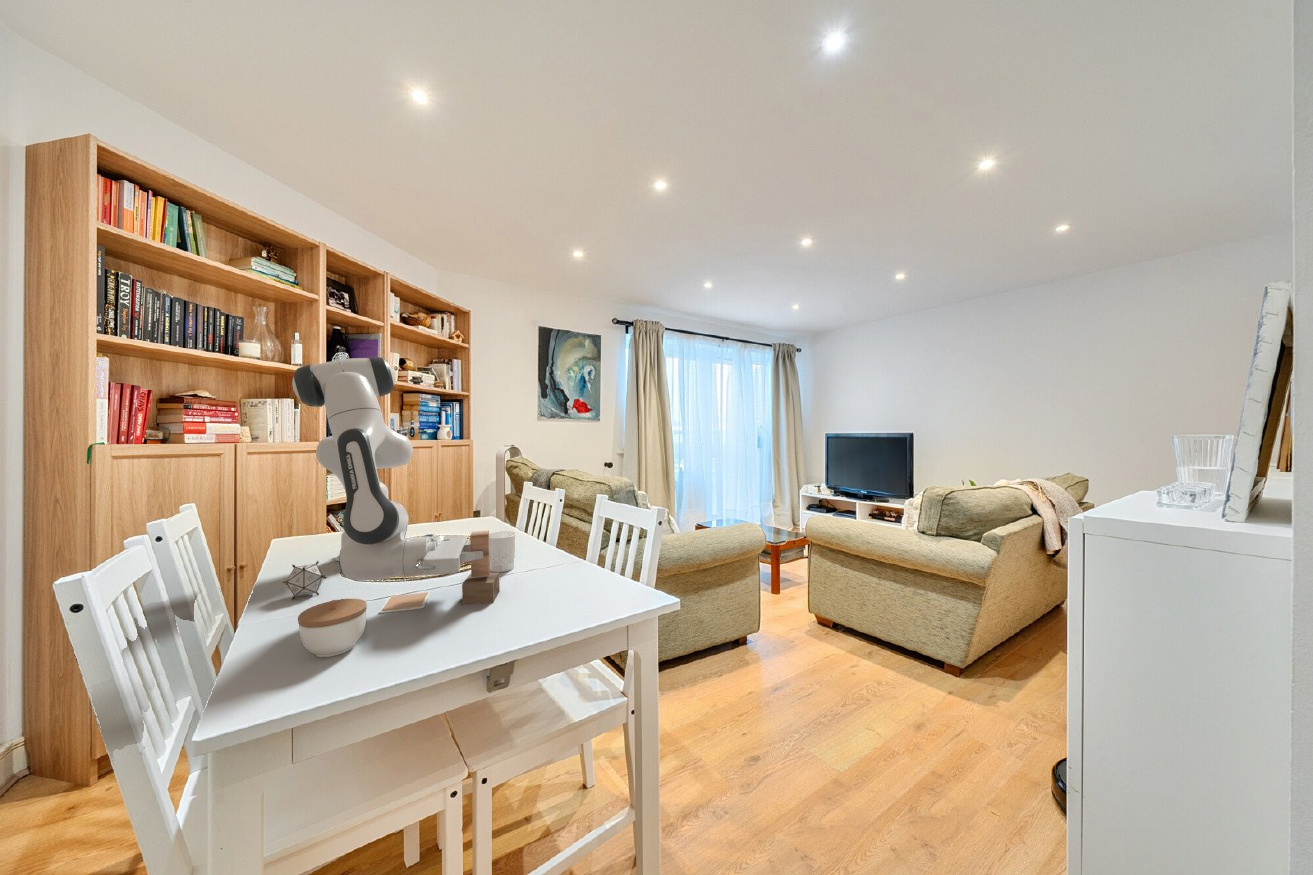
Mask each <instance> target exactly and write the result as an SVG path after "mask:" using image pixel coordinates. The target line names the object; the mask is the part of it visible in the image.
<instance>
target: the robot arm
mask: <svg viewBox="0 0 1313 875" xmlns="http://www.w3.org/2000/svg"><path fill="white" fill-rule="evenodd" d="M395 383H396V375H395V372H394V369H393V368H392V366H391V365H390V363H389V362H388V360H386V359H385V358H383V357H378V356H369V357H362V358H360V357H357V358H356V357H355V358H353V357H352V358H343V359H339V360H331V361H326V362H325V361H324V362H322V363H317V364H313V365H312V364H306V365H304V366H300V367H298V368H296V370H294V372H293V378H292V389H293V392H294V394H295V395H296V397H297V398H298V399H299V401H301V403H302V404H303V405H305V406H308V407H314V408H316V407H318V408H322V407H323V406H324V407H325V412H326V413H325V415H326V417H327V418H326V419H327V423H328V426H329V429H330V432H331V436H327V437H324V438H322V439H321V440H320V441H319V443H318V444H317V446H316V450H315V456H316V460H317V461H318V463H319V464H320V465H321V466H322V467H323V468H325V469H326V470H327V471H329V472H331V473H332V474H334V476H336V478H338V480H339V481H340V483H341V486H343V489H344V492H345V497H346V503H345V508H344V512H343V518H342V525H343V529H344V531H343V532H342V533H341V540H340V550H339V554H338V556H336V557H335V561H336V562H338V563H339V568H340V570H341V572H342V573H343V575H344V576H345V577H346V578H347V579H349V580H353V581H381V580H388V579H391V578H393V577H394V578H395V577H399V578H400V577H401V578H412V577H420V576H422V577H423V576H437V575H439V576H440V575H452V574H456V573H459V572H460V569H461V566H462V565H463V563H468V562H471V561H472V560H475V559H482V558H483V556H484V552H483V550H476V551H473V552H471V548H470V542H468V540H469V539H468V538H469V537H468V536H467V535H462V534H455V535H454V534H450V535H449V534H448V535H447V534H443V535H437V536H436V534H435V533H428V534H425V535H423V536H417V537H406V534H407V530H408V526H409V525H408V524H409V519H410V518H409V513H408V511H407V508H405V507H404V505H403V504H401V503H399V502H397V501H394V500H390V498H389V488H388V487H387V485H386V484H384V482H382V481H380V477H379V472H378V470H379V469H391V468H392V469H393V468H397V467H401V466H402V467H403V466H406V465H407V464H408V463H409V462H410V461H411V458H412V457H413V453H414V447H413V444H412V442H411V440H410V439H409V437H407V436H406V435H405V434H402V433H398V432H397V431H395V430H394V429H393V428H391V427H390V426H389V425H387V424H386V423H385V419H384V415H383V412H382V409H381V406H380V403H379V400H378V397H379V398H381V397H384V396H386V395H389V394H391V393H392V391H394V388H395Z"/></svg>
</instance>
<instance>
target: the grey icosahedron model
mask: <svg viewBox="0 0 1313 875" xmlns="http://www.w3.org/2000/svg"><path fill="white" fill-rule="evenodd" d="M319 563H320V560H317V561H316V562H315V563H314V564H306V565H300V566H296V565H295V564H292V566H291V567H292V568H293V569H292V570H291V572H290V574H289V576H288V578H287V579H286V580H284V581H282V582H281V583H283V584H285V585H286V586H287V587H288V588H289V590H290V592H291V594H292V595H293V596H292V598H291V599H292V601H293V600H295V598H296V597H300V596H305V595H307V596H308V595H312V594H316V595H317V596H320V593H319V592H318V591H319V589H320V587H321V585H322V583H323V581H324V580H325V579H327V578H328V577H327V576H326V575H324V574H323V573H322V571H321V569H320V568H319V566H318V564H319Z"/></svg>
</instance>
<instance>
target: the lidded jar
mask: <svg viewBox="0 0 1313 875" xmlns="http://www.w3.org/2000/svg"><path fill="white" fill-rule="evenodd" d="M367 605H368V604H367V602H366V601H365V600H363V599H360V598H340V599H332V600H329V601H326V602H322V603H319V604H315V605H313V606H311V607H308V608H307V609H305V610H303V611H301V613H300V614H299V615H298V616H297V623H298V630H299V636H300V639H301V640H300V641H301V643H302V645H303V646H304V647H305V649H306V650H307V651H309V652H310V653H312V654H314V655H315V656H316V657H318V658H330V657H336V656H339V655H342V654H344V653H347V652H349V651H350V650H351V649H352V648H354V646H355V644H357V642H358V641H359V639H361V637H362V635H363V633H364V631H365V629H366V623H367V608H368V607H367Z"/></svg>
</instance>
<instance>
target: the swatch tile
mask: <svg viewBox="0 0 1313 875" xmlns="http://www.w3.org/2000/svg"><path fill="white" fill-rule="evenodd" d="M431 594H432V593H431V592H419V593H411V594H409V593H408V594H402V595H392V596H389V597H388V598H387V599H386V601H385V603H383V605H382V607H381V608H380V609H379V611H378V614H384V613H385V614H386V613H395V612H401V611H402V612H403V611H411V610H412V611H413V610H420V609H424V608H425V607H426V604H427V603H428V601H429V598H430V597H431Z"/></svg>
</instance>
